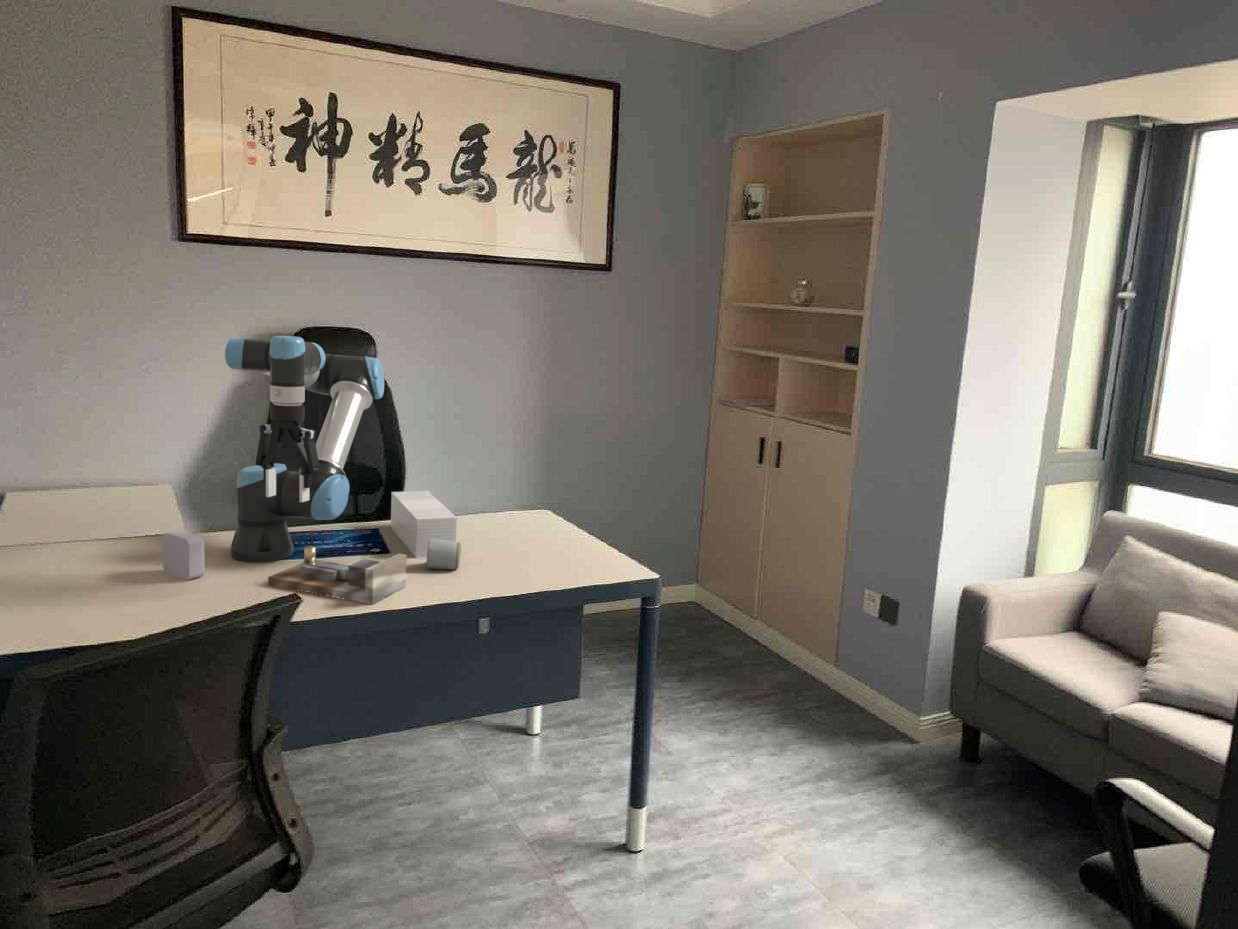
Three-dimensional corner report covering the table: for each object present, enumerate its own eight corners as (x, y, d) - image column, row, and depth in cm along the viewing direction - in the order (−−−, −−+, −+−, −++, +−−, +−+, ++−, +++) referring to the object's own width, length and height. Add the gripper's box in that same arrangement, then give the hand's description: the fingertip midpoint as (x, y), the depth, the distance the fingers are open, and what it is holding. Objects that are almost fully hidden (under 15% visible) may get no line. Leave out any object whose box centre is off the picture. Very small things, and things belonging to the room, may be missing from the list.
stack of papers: (390, 527, 269) (391, 492, 267) (426, 525, 274) (427, 490, 272) (416, 558, 241) (417, 519, 239) (455, 556, 245) (456, 517, 243)
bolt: (301, 572, 216) (301, 547, 215) (308, 569, 218) (308, 545, 217) (345, 580, 213) (345, 555, 211) (351, 577, 215) (352, 552, 214)
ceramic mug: (458, 573, 230) (459, 543, 229) (425, 572, 230) (426, 542, 228) (461, 561, 241) (462, 533, 240) (430, 560, 240) (431, 532, 239)
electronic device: (207, 577, 215) (206, 536, 214) (189, 581, 211) (188, 540, 210) (181, 568, 220) (180, 528, 218) (163, 572, 216) (162, 532, 214)
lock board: (268, 585, 213) (267, 552, 211) (305, 569, 226) (306, 537, 224) (372, 604, 204) (373, 570, 203) (405, 587, 218) (406, 554, 216)
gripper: (237, 400, 211) (239, 495, 215) (316, 409, 205) (316, 507, 209) (259, 397, 218) (260, 489, 222) (336, 406, 212) (336, 501, 216)
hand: (287, 498), depth 216 cm, fingers open, 9 cm apart
